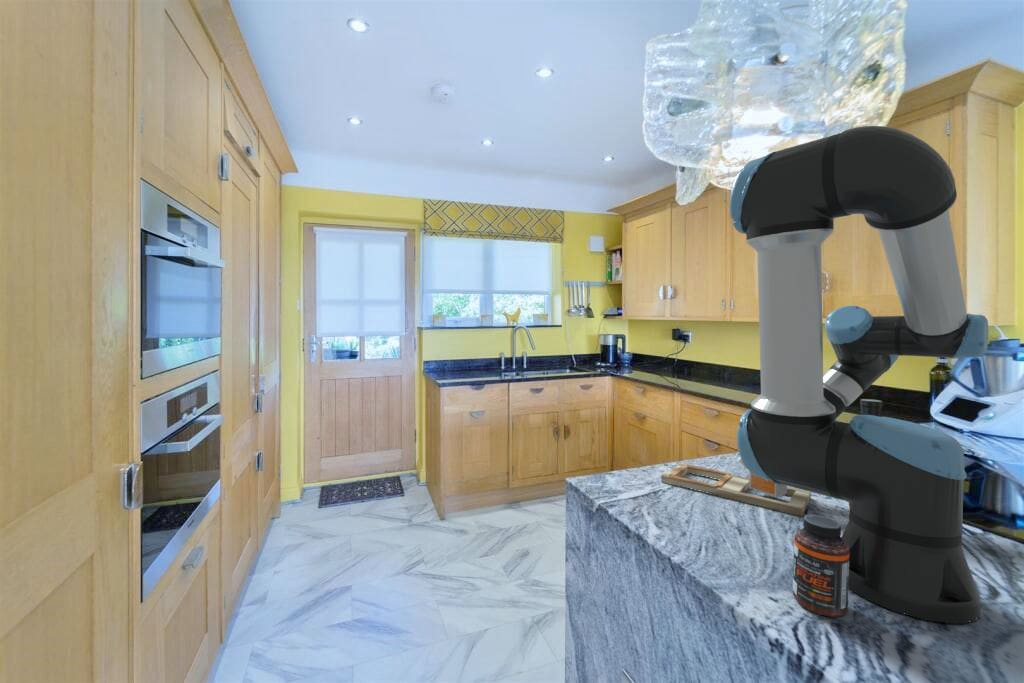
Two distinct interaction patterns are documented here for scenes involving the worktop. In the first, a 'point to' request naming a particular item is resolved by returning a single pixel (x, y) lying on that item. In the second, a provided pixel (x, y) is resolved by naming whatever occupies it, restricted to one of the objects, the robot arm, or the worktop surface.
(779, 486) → the skincare box
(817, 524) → the supplement bottle
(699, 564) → the worktop surface
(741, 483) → the socket rail
